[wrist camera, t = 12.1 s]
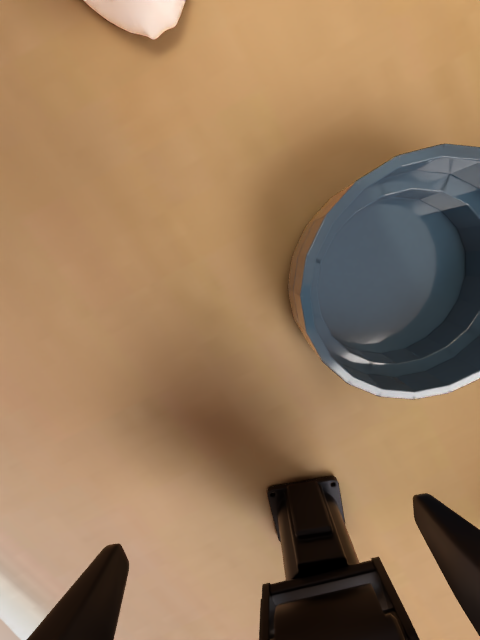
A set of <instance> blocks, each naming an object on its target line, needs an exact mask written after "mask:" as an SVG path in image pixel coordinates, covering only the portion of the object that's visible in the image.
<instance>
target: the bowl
mask: <svg viewBox="0 0 480 640" xmlns="http://www.w3.org/2000/svg"><path fill="white" fill-rule="evenodd" d="M288 292H289V298H290V303H291V309H292V314H293V318H294V319H295V321H296V323H297V325H298V327H299V328H300V330H301V332H302V334H303V336H304V337H305V339H306V341H307V342H308V343H309V345H310V346H311V347H312V349H313V350H314V351H315V353H316V354H317V355H318V356H319V358H320V359H321V360H322V362H323V363H324V364H326V365H327V366H328V367H329V368H330V369H331V370H332V371H334V372H335V373H336V374H337V375H338V376H339V377H340V378H341V379H343V380H344V381H345V382H346V383H348V384H349V385H352V386H354V387H357V388H359V389H362V390H364V391H366V392H369V393H371V394H374V395H376V396H380V397H390V398H401V399H420V398H425V397H430V396H436V395H441V394H446V393H449V392H452V391H455V390H457V389H459V388H461V387H463V386H465V385H467V384H470V383H472V382H474V381H476V380H478V379H480V147H473V146H463V145H453V144H440V145H436V146H432V147H428V148H424V149H420V150H416V151H412V152H408V153H404V154H400V155H398V156H395V157H394V158H392V159H390V160H389V161H387V162H385V163H384V164H382V165H381V166H379V167H377V168H376V169H374V170H373V171H371V172H369V173H368V174H366V175H364V176H363V177H361V178H360V179H358V180H356V181H355V182H353V183H352V184H351V185H349V186H348V187H346V188H345V189H343V190H342V191H340V192H339V193H337V194H336V195H334V196H333V197H331V198H330V199H329V200H328V201H327V202H326V204H325V205H324V206H323V207H322V208H321V209H320V210H319V211H318V213H317V214H316V215H315V216H314V217H313V218H312V219H311V220H310V222H309V223H308V224H307V226H306V227H305V229H304V231H303V233H302V236H301V238H300V240H299V242H298V244H297V246H296V249H295V251H294V253H293V256H292V260H291V267H290V275H289V282H288Z"/></svg>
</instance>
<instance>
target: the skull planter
mask: <svg viewBox="0 0 480 640" xmlns="http://www.w3.org/2000/svg"><path fill="white" fill-rule="evenodd" d="M83 1H85V2H86V3H87V4H88V5H89V6H90V7H91V8H92V9H93V10H95V11H96V12H97V13H98V14H100V15H101V16H102V17H104V18H105V19H107V20H108V21H109V22H111V23H113V24H115V25H116V26H118V27H120V28H122V29H124V30H126V31H128V32H130V33H134V34H139V35H143V36H147V37H149V38H151V39H156V38H158V37H159V36H160V35H161V34H162V33H163V32H164V31H166V30H168V29H171V28H173V27H175V26H176V24H177V22H178V19H179V17H180V16H181V13H182V10H183V7H184V4H185V1H186V0H83Z"/></svg>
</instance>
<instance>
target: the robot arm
mask: <svg viewBox="0 0 480 640" xmlns="http://www.w3.org/2000/svg"><path fill="white" fill-rule="evenodd" d="M332 482H333V483H332ZM267 494H268V499H269V503H270V507H271V511H272V515H273V519H274V523H275V527H276V531H277V535H278V539H279V541H280V542H281V547H282V554H283V562H284V569H285V577H286V581H283V582H278V583H274V584H270V583H267V584H263V587H262V599H261V608H260V632H259V640H419V638H418V635H417V633H416V631H415V629H414V627H413V625H412V623H411V621H410V619H409V617H408V615H407V613H406V611H405V609H404V607H403V605H402V603H401V601H400V599H399V597H398V595H397V593H396V591H395V588H394V586H393V584H392V582H391V580H390V578H389V576H388V574H387V572H386V570H385V568H384V566H383V564H382V562H381V560H380V558H379V557H375V558H371V559H372V560H371V561H366V562H362V563H359V560H358V558H357V555H356V552H355V550H354V547H353V544H352V542H351V539H350V537H349V534H348V531H347V529H346V526H345V520H344V514H343V508H342V502H341V495H340V489H339V483H338V481H337V479H336V477H334V476H330V477H324V478H318V479H312V480H307V481H301V482H295V483H289V484H283V485H277V486H272V487H269V488H268V490H267ZM413 508H414V518H415V521H416V524H417V526H418V528H419V530H420V532H421V533H422V535H423V537H424V539H425V541H426V543H427V545H428V547H429V549H430V550H431V552H432V554H433V556H434V558H435V560H436V562H437V564H438V565H439V567H440V569H441V571H442V573H443V575H444V577H445V579H446V580H447V582H448V584H449V586H450V588H451V590H452V592H453V593H454V595H455V597H456V599H457V600H458V602H459V604H460V605H461V607H462V609H463V610H464V612H465V614H466V615H467V617H468V618H469V620H470V621H471V623H472V625H473V626H474V628H475V629H476V631H477V633H478V634H479V636H480V530H479V529H478V528H476V527H475V526H473V525H472V524H471V523H469V522H468V521H466V520H465V519H464V518H462V517H461V516H459V515H458V514H457V513H455V512H454V511H452V510H451V509H450V508H448V507H447V506H445V505H444V504H443V503H441V502H440V501H438V500H437V499H436V498H434V497H433V496H431V495H430V494H426V493H425V494H419V495H414V497H413ZM128 571H129V561H128V559H127V556H126V554H125V552H124V550H123V548H122V546H121V545H120V544H112V545H108V546H106V547H105V548H104V549H103V550H102V551H101V552H100V553H99V555H98V556H97V557H96V558H95V559H94V561H93V562H92V563H91V564H90V565H89V567H88V568H87V569H86V570H85V571H84V572H83V574H82V575H81V576H80V577H79V578H78V580H77V581H76V582H75V583H74V584H73V585H72V587H71V588H70V589H69V590H68V591H67V593H66V594H65V595H64V596H63V597H62V599H61V600H60V601H59V602H58V603H57V604H56V606H55V607H54V608H53V609H52V610H51V612H50V613H49V614H48V615H47V616H46V617H45V619H44V620H43V621H42V622H41V623H40V625H39V626H38V627H37V628H36V629H35V631H34V632H33V633H32V634H31V635H30V636H29V638H28V639H27V640H113V639H114V635H115V631H116V626H117V622H118V617H119V612H120V608H121V603H122V599H123V594H124V590H125V585H126V581H127V576H128Z"/></svg>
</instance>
